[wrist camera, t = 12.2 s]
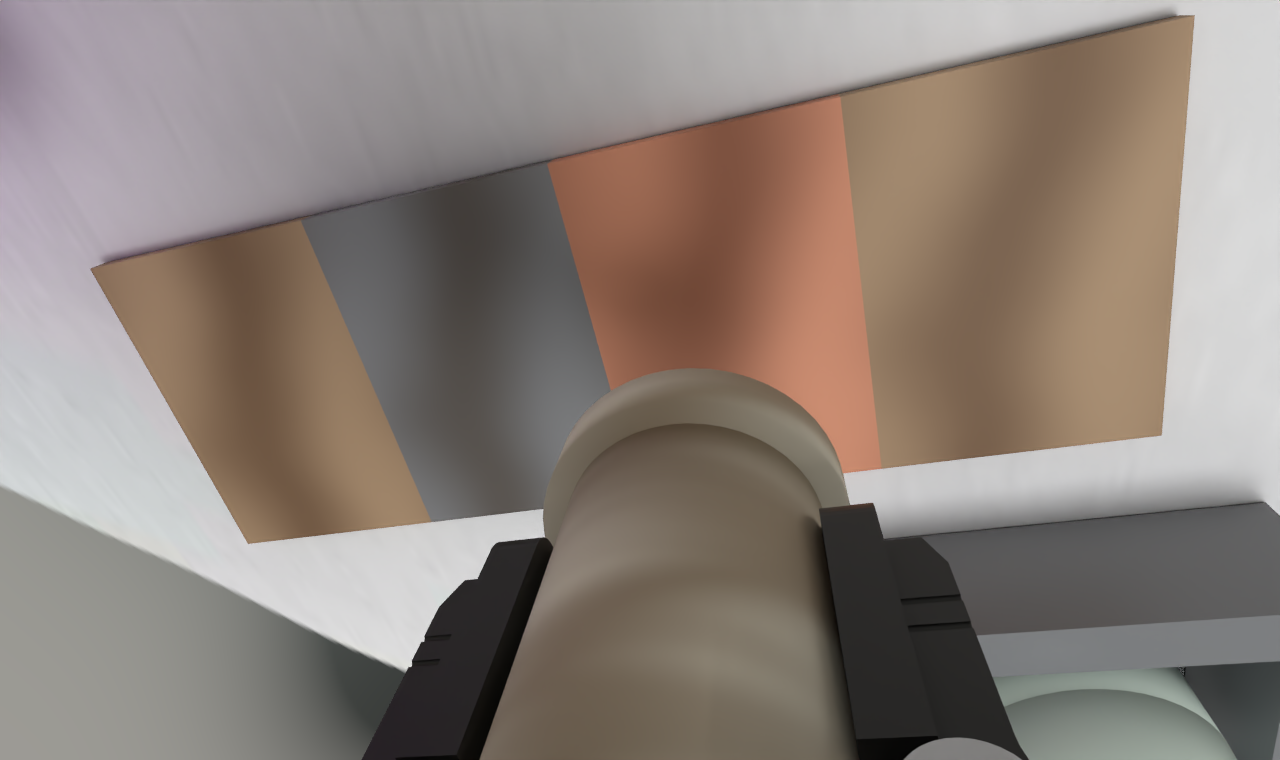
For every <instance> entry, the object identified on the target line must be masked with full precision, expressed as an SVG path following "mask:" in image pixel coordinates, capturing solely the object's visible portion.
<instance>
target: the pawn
mask: <svg viewBox="0 0 1280 760" xmlns="http://www.w3.org/2000/svg"><path fill="white" fill-rule="evenodd" d="M848 505H850V503H849V498H848V494H847V490H846V485H845V481H844V477H843V472H842V468H841V464H840V461H839V459H838V456H837V453H836V451H835V448H834V447H833V445H832V443H831V441H830V439H829V438H828V436H827V434H826V433H825V431H824V430H823V429H822V428H821V426H820V425H819V424H818V422H817V421H816V420H815V419H814V418H813V417H812V416H811V415H810V414H809V413H808V412H807V411H806V410H805V409H804V408H803V407H802V406H801V405H799V404H798V403H797V402H795V401H794V400H793V399H791V398H790V397H788V396H787V395H786V394H784V393H782V392H780V391H779V390H777V389H775V388H773V387H771V386H770V385H768V384H765V383H763V382H760V381H758V380H755V379H753V378H750V377H747V376H743V375H740V374H736V373H732V372H728V371H721V370H714V369H699V368H685V369H674V370H666V371H662V372H657V373H652V374H648V375H645V376H642V377H639V378H637V379H634V380H631V381H629V382H627V383H625V384H623V385H621V386H619V387H617V388H615V389H613V390H612V391H610V392H609V393H607V394H606V395H604V396H603V397H601V398H600V399H599V400H597V401H596V402H595V403H594V404H593V405H592V406H591V407H590V408H589V409H588V410H586V412H585V413H584V414H583V415H582V416H581V418H580V419H579V420H578V421H577V423H576V424H575V426H574V427H573V429H572V431H571V432H570V434H569V436H568V437H567V440H566V442H565V445H564V447H563V449H562V452H561V454H560V457H559V459H558V462H557V464H556V467H555V469H554V471H553V474H552V477H551V479H550V482H549V484H548V487H547V491H546V496H545V500H544V511H543V522H544V532H545V537H546V538H547V539H548V540H549V541H550V542H551V544H552V546H553V551H552V554H551V556H550V559H549V562H548V565H547V568H546V571H545V574H544V576H543V579H542V582H541V585H540V588H539V591H538V594H537V596H536V599H535V602H534V605H533V608H532V611H531V614H530V616H529V619H528V622H527V625H526V628H525V631H524V634H523V636H522V639H521V642H520V645H519V648H518V651H517V654H516V657H515V659H514V662H513V665H512V668H511V671H510V674H509V677H508V679H507V682H506V685H505V688H504V691H503V694H502V697H501V699H500V702H499V705H498V708H497V711H496V714H495V717H494V719H493V722H492V725H491V728H490V731H489V734H488V737H487V739H486V742H485V745H484V748H483V751H482V754H481V757H480V759H479V760H859V756H858V749H857V743H856V737H855V731H854V725H853V719H852V712H851V706H850V700H849V694H848V688H847V682H846V675H845V669H844V663H843V657H842V651H841V645H840V639H839V632H838V626H837V620H836V614H835V608H834V602H833V595H832V589H831V583H830V577H829V571H828V565H827V558H826V552H825V546H824V540H823V534H822V527H821V521H820V514H819V509H820V508H829V507H838V506H848Z"/></svg>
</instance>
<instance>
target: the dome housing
mask: <svg viewBox="0 0 1280 760" xmlns="http://www.w3.org/2000/svg"><path fill="white" fill-rule="evenodd" d="M918 537H922V538H923V539H924V540H925V541H926V542H927V543H928V544H929V545H930V546H931V547H932V548H934V549H935V550H936V551H937V552H938V553H939V554H940V555H941V556H942V557H943V558H944V559H945V560H946V561H948V563H949V565H950V568H951V570H952V573H953V576H954V578H955V581H956V583H957V586H958V589H959V591H960V594H961V599H962V601H963V602H964V604H965V607H966V609H967V612H968V615H969V617H970V620H971V625H972V628H974V630H975V633H976V635H977V638H978V641H979V643H980V646H981V648H982V651H983V654H984V656H985V659H986V661H987V664H988V667H989V669H990V672H991V674H992V677H1007V676H1025V675H1042V674H1060V673H1078V672H1096V671H1114V670H1131V669H1149V668H1167V667H1185V666H1186V670H1185V679H1186V681H1187V682H1188V684H1189V685H1190V687H1191V688H1192V690H1193V691H1194V693H1195V694H1196V696H1197V697H1198V699H1199V701H1200V702H1201V704H1202V705H1203V707H1204V708H1205V710H1206V711H1207V713H1208V714H1209V716H1210V717H1211V719H1212V720H1213V722H1214V723H1215V725H1216V726H1217V728H1218V729H1219V731H1220V732H1221V734H1222V735H1223V737H1224V738H1225V740H1226V741H1227V743H1228V744H1229V746H1230V748H1231V750H1232V751H1233V753H1234V755H1235V757H1236V758H1237V760H1280V516H1279V515H1278V514H1277V513H1276V512H1275V511H1274V510H1273V509H1272V508H1271V507H1270V506H1269V505H1268V504H1267V503H1266V502H1265V503H1255V504H1245V505H1235V506H1224V507H1214V508H1204V509H1194V510H1184V511H1173V512H1163V513H1153V514H1143V515H1133V516H1122V517H1112V518H1102V519H1092V520H1081V521H1071V522H1061V523H1051V524H1041V525H1030V526H1020V527H1010V528H1000V529H990V530H979V531H969V532H959V533H949V534H938V535H928V536H918ZM908 538H916V537H908ZM898 539H905V538H898ZM887 540H895V539H887Z"/></svg>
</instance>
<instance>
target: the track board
mask: <svg viewBox="0 0 1280 760" xmlns="http://www.w3.org/2000/svg"><path fill="white" fill-rule="evenodd" d="M1194 16H1195V15H1179V16H1174V17H1170V18H1166V19H1161V20H1157V21H1153V22H1148V23H1144V24H1140V25H1135V26H1131V27H1127V28H1122V29H1118V30H1114V31H1109V32H1105V33H1101V34H1096V35H1092V36H1088V37H1083V38H1079V39H1075V40H1070V41H1066V42H1062V43H1057V44H1053V45H1049V46H1044V47H1040V48H1035V49H1031V50H1027V51H1022V52H1018V53H1014V54H1009V55H1005V56H1001V57H996V58H992V59H988V60H983V61H979V62H975V63H970V64H966V65H962V66H957V67H953V68H949V69H944V70H940V71H936V72H931V73H927V74H923V75H918V76H914V77H910V78H905V79H901V80H897V81H892V82H888V83H884V84H879V85H875V86H871V87H866V88H862V89H858V90H853V91H849V92H845V93H840V94H836V95H831V96H827V97H823V98H818V99H814V100H810V101H805V102H801V103H797V104H792V105H788V106H784V107H779V108H775V109H771V110H766V111H762V112H758V113H753V114H749V115H745V116H740V117H736V118H732V119H727V120H723V121H719V122H714V123H710V124H706V125H701V126H697V127H693V128H688V129H684V130H680V131H675V132H671V133H667V134H662V135H658V136H654V137H649V138H645V139H641V140H636V141H632V142H628V143H623V144H619V145H614V146H610V147H606V148H601V149H597V150H593V151H588V152H584V153H580V154H575V155H571V156H567V157H562V158H558V159H554V160H549V161H545V162H541V163H536V164H532V165H528V166H523V167H519V168H515V169H510V170H506V171H502V172H497V173H493V174H489V175H484V176H480V177H476V178H471V179H467V180H463V181H458V182H454V183H450V184H445V185H441V186H437V187H432V188H428V189H424V190H419V191H415V192H411V193H406V194H402V195H397V196H393V197H389V198H384V199H380V200H376V201H371V202H367V203H363V204H358V205H354V206H350V207H345V208H341V209H337V210H332V211H328V212H324V213H319V214H315V215H311V216H306V217H302V218H298V219H293V220H289V221H285V222H280V223H276V224H272V225H267V226H263V227H259V228H254V229H250V230H246V231H241V232H237V233H233V234H228V235H224V236H220V237H215V238H211V239H207V240H202V241H198V242H194V243H189V244H185V245H180V246H176V247H172V248H167V249H163V250H159V251H154V252H150V253H146V254H141V255H137V256H133V257H128V258H124V259H120V260H115V261H111V262H107V263H104V264H102V265H99V266H96V267H94V268H91V271H92V273H93V275H94V276H95V278H96V280H97V282H98V283H99V285H100V287H101V288H102V290H103V292H104V294H105V295H106V297H107V299H108V301H109V302H110V304H111V306H112V308H113V309H114V311H115V313H116V315H117V316H118V318H119V320H120V322H121V323H122V325H123V327H124V329H125V330H126V332H127V334H128V335H129V337H130V339H131V341H132V342H133V344H134V346H135V348H136V349H137V351H138V353H139V355H140V356H141V358H142V360H143V362H144V363H145V365H146V367H147V369H148V370H149V372H150V374H151V376H152V377H153V379H154V381H155V383H156V384H157V386H158V388H159V389H160V391H161V393H162V395H163V396H164V398H165V400H166V402H167V403H168V405H169V407H170V409H171V410H172V412H173V414H174V416H175V417H176V419H177V421H178V423H179V424H180V426H181V428H182V430H183V431H184V433H185V435H186V436H187V438H188V440H189V442H190V443H191V445H192V447H193V449H194V450H195V452H196V454H197V456H198V457H199V459H200V461H201V463H202V464H203V466H204V468H205V470H206V471H207V473H208V475H209V477H210V478H211V480H212V482H213V484H214V485H215V487H216V489H217V490H218V492H219V494H220V496H221V497H222V499H223V501H224V503H225V504H226V506H227V508H228V510H229V511H230V513H231V515H232V517H233V518H234V520H235V522H236V524H237V525H238V527H239V529H240V531H241V532H242V534H243V536H244V537H245V539H246V541H247V543H248V544H250V543H259V542H267V541H276V540H284V539H293V538H301V537H309V536H318V535H326V534H335V533H343V532H352V531H360V530H368V529H377V528H385V527H394V526H402V525H411V524H419V523H427V522H436V521H444V520H453V519H461V518H470V517H478V516H486V515H495V514H503V513H512V512H520V511H529V510H537V509H544V500H545V496H546V491H547V487H548V484H549V482H550V479H551V477H552V474H553V471H554V469H555V467H556V464H557V462H558V459H559V457H560V454H561V452H562V449H563V447H564V445H565V442H566V440H567V437H568V436H569V434H570V432H571V431H572V429H573V427H574V426H575V424H576V423H577V421H578V420H579V419H580V418H581V416H582V415H583V414H584V413H585V412H586V410H588V409H589V408H590V407H591V406H592V405H593V404H594V403H595V402H596V401H597V400H599V399H600V398H601V397H603V396H604V395H606V394H607V393H609V392H610V391H612V390H613V389H615V388H617V387H619V386H621V385H623V384H625V383H627V382H629V381H631V380H634V379H637V378H639V377H642V376H645V375H648V374H652V373H657V372H662V371H666V370H674V369H685V368H699V369H714V370H721V371H728V372H732V373H736V374H740V375H743V376H747V377H750V378H753V379H755V380H758V381H760V382H763V383H765V384H768V385H770V386H771V387H773V388H775V389H777V390H779V391H780V392H782V393H784V394H786V395H787V396H788V397H790V398H791V399H793V400H794V401H795V402H797V403H798V404H799V405H801V406H802V407H803V408H804V409H805V410H806V411H807V412H808V413H809V414H810V415H811V416H812V417H813V418H814V419H815V420H816V421H817V422H818V424H819V425H820V426H821V428H822V429H823V430H824V431H825V433H826V434H827V436H828V438H829V439H830V441H831V443H832V445H833V447H834V448H835V451H836V453H837V456H838V459H839V461H840V464H841V468H842V472H843V473H849V472H857V471H866V470H874V469H883V468H891V467H899V466H908V465H916V464H925V463H933V462H942V461H950V460H958V459H967V458H975V457H984V456H992V455H1001V454H1009V453H1017V452H1026V451H1034V450H1043V449H1051V448H1060V447H1068V446H1076V445H1085V444H1093V443H1102V442H1110V441H1119V440H1127V439H1135V438H1144V437H1152V436H1161V435H1162V423H1163V410H1164V397H1165V385H1166V372H1167V359H1168V347H1169V334H1170V321H1171V309H1172V296H1173V283H1174V270H1175V258H1176V245H1177V232H1178V220H1179V207H1180V194H1181V181H1182V169H1183V156H1184V143H1185V131H1186V118H1187V105H1188V92H1189V80H1190V67H1191V54H1192V42H1193V29H1194Z"/></svg>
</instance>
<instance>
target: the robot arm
mask: <svg viewBox="0 0 1280 760" xmlns="http://www.w3.org/2000/svg"><path fill="white" fill-rule="evenodd" d="M819 514H820V521H821V527H822V534H823V540H824V546H825V552H826V558H827V565H828V571H829V577H830V583H831V589H832V595H833V602H834V608H835V614H836V620H837V626H838V632H839V639H840V645H841V651H842V657H843V663H844V669H845V675H846V682H847V688H848V694H849V700H850V706H851V712H852V719H853V725H854V731H855V737H856V743H857V749H858V756H859V760H1029V759H1028V757H1027V756H1026V754H1025V753H1024V751H1023V750H1022V748H1021V747H1020V745H1019V743H1018V741H1017V738H1016V736H1015V734H1014V731H1013V729H1012V726H1011V724H1010V721H1009V718H1008V716H1007V713H1006V711H1005V708H1004V706H1003V703H1002V700H1001V698H1000V695H999V693H998V690H997V687H996V685H995V682H994V680H993V677H992V674H991V672H990V669H989V667H988V664H987V661H986V659H985V656H984V654H983V651H982V648H981V646H980V643H979V641H978V638H977V635H976V633H975V630H974V628H972V625H971V620H970V617H969V615H968V612H967V609H966V607H965V604H964V602H963V601H962V599H961V594H960V591H959V589H958V586H957V583H956V581H955V578H954V576H953V573H952V570H951V568H950V565H949V563H948V561H946V560H945V559H944V558H943V557H942V556H941V555H940V554H939V553H938V552H937V551H936V550H935V549H934V548H932V547H931V546H930V545H929V544H928V543H927V542H926V541H925V540H924V539H923V538H922V537H916V538H905V539H895V540H884V539H883V535H882V532H881V528H880V525H879V521H878V517H877V514H876V510H875V507H874V504H873V503H866V504H857V505H848V506H838V507H829V508H820V509H819ZM552 551H553V546H552V544H551V542H550V541H549V540H548V539H547V538H545V537H543V538H534V539H525V540H515V541H506V542H498V543H496V544H495V545H494V546H493V548H492V549H491V551H490V553H489V556H488V558H487V560H486V562H485V564H484V566H483V568H482V571H481V573H480V575H479V577H478V579H474V580H465V581H464V582H463V583H462V584H461V585H460V586H459V587H458V588H457V589H456V590H455V591H454V592H453V593H452V594H451V595H450V596H449V597H448V598H447V599H446V600H445V601H444V602H443V604H442V605H441V606H440V607H439V608H438V610H437V612H436V614H435V616H434V618H433V620H432V622H431V624H430V626H429V628H428V630H427V632H426V634H425V636H424V637H425V641H424V642H421V644H420V646H419V648H418V650H417V652H416V654H415V656H414V658H413V660H412V667H408V669H407V671H406V673H405V676H404V677H403V679H402V681H401V683H400V685H399V687H398V689H397V691H396V693H395V695H394V697H393V699H392V701H391V703H390V705H389V707H388V709H387V711H386V713H385V715H384V717H383V719H382V721H381V723H380V725H379V727H378V729H377V731H376V733H375V734H374V737H373V738H372V741H371V742H370V744H369V746H368V748H367V750H366V752H365V754H364V756H363V758H362V760H479V759H480V757H481V754H482V751H483V748H484V745H485V742H486V739H487V737H488V734H489V731H490V728H491V725H492V722H493V719H494V717H495V714H496V711H497V708H498V705H499V702H500V699H501V697H502V694H503V691H504V688H505V685H506V682H507V679H508V677H509V674H510V671H511V668H512V665H513V662H514V659H515V657H516V654H517V651H518V648H519V645H520V642H521V639H522V636H523V634H524V631H525V628H526V625H527V622H528V619H529V616H530V614H531V611H532V608H533V605H534V602H535V599H536V596H537V594H538V591H539V588H540V585H541V582H542V579H543V576H544V574H545V571H546V568H547V565H548V562H549V559H550V556H551V554H552Z"/></svg>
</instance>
